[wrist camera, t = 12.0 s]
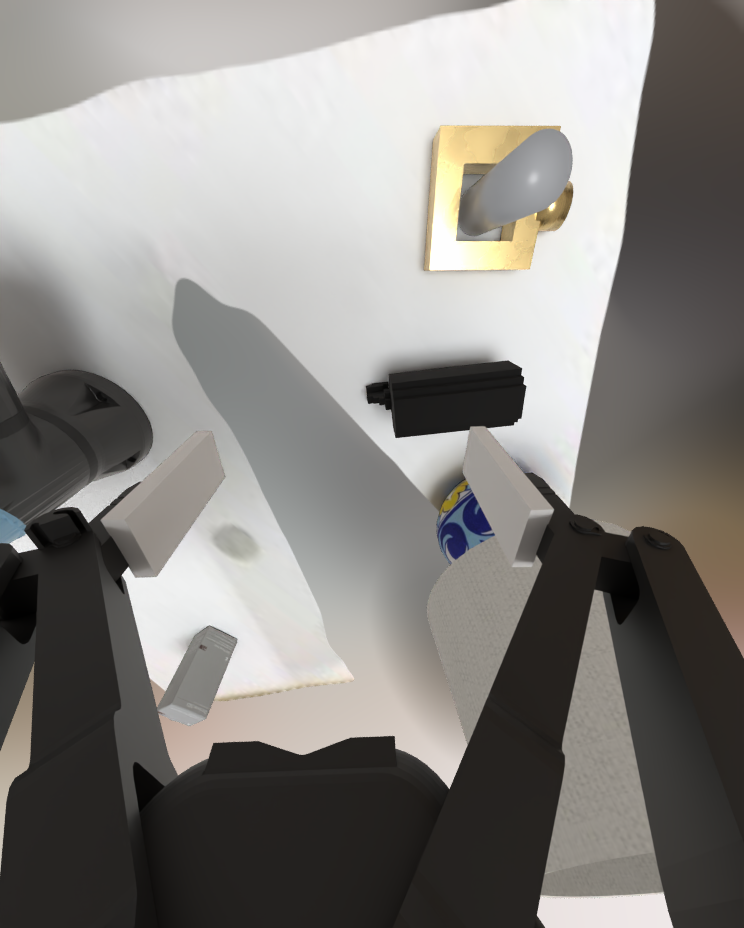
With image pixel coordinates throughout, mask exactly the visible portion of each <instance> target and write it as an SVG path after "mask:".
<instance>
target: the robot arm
mask: <svg viewBox="0 0 744 928" xmlns="http://www.w3.org/2000/svg"><path fill="white" fill-rule="evenodd" d="M151 445H152V430H151V426H150V423H149V421H148V419H147V417H146V415H145V413H144V412H143V410H142V409H141V407H140V406H139V405H138V404H137V402H136V401H135V400H134V399H133V398H132V397H131V396H130V395H129V394H128V393H126V392H125V391H124V390H123V389H121V388H120V387H118V386H117V385H115V384H114V383H112V382H110V381H109V380H107V379H105V378H102V377H100V376H98V375H95V374H92V373H88V372H84V371H77V370H64V371H59V372H55V373H52V374H49V375H45V376H42V377H40V378H38V379H36V380H34V381H33V382H31V383H30V384H29V385H28V386H27V387H26V388H25V389H24V390H23V391H22V392H20V393H19V394H18V395H17V394H16V392H15V390H14V388H13V386H12V384H11V382H10V380H9V378H8V376H7V374H6V372H5V370H4V368H3V366H2V364H1V362H0V750H1V748H2V745H3V742H4V739H5V737H6V734H7V732H8V729H9V727H10V724H11V721H12V719H13V716H14V714H15V711H16V708H17V706H18V703H19V701H20V698H21V695H22V692H23V690H24V687H25V685H26V682H27V680H28V677H29V674H30V672H31V669H32V666H33V664H34V661H35V664H34V688H33V711H32V732H31V756H30V764H29V768H28V769H27V771H25V772H24V773H22V774H21V775H19V776H17V777H16V778H15V779H14V781H13V782H12V784H11V786H10V788H9V792H8V797H7V802H6V814H5V825H4V838H3V849H2V861H1V872H0V928H545V927H544V925H543V924H542V923H541V921H540V920H539V918H538V917H537V911H538V905H539V900H540V895H541V890H542V885H543V880H544V874H545V869H546V864H547V859H548V854H549V849H550V843H551V838H552V833H553V828H554V823H555V818H556V812H557V807H558V802H559V797H560V792H561V786H562V781H563V775H564V769H565V755H564V753H563V751H562V743H563V737H564V732H565V728H566V723H567V718H568V713H569V708H570V704H571V699H572V694H573V689H574V685H575V680H576V675H577V670H578V666H579V661H580V656H581V651H582V647H583V642H584V637H585V632H586V627H587V623H588V618H589V613H590V608H591V604H592V599H593V594H594V590H598V591H602V592H603V597H604V602H605V607H606V612H607V617H608V622H609V627H610V632H611V637H612V642H613V647H614V652H615V657H616V662H617V667H618V672H619V677H620V682H621V687H622V692H623V697H624V702H625V707H626V712H627V716H628V721H629V726H630V731H631V736H632V741H633V746H634V751H635V756H636V761H637V766H638V771H639V776H640V781H641V786H642V791H643V796H644V801H645V806H646V811H647V816H648V821H649V826H650V831H651V836H652V841H653V846H654V851H655V856H656V861H657V866H658V870H659V875H660V879H661V883H662V887H663V891H664V895H665V899H666V903H667V907H668V912H669V915H670V918H671V921H672V925H673V928H744V658H743V656H742V655H741V652H740V651H739V649H738V647H737V645H736V643H735V641H734V639H733V638H732V636H731V634H730V632H729V630H728V628H727V626H726V624H725V623H724V621H723V619H722V617H721V615H720V613H719V611H718V610H717V608H716V606H715V604H714V602H713V600H712V598H711V597H710V595H709V593H708V591H707V589H706V587H705V586H704V584H703V582H702V580H701V578H700V576H699V574H698V573H697V571H696V569H695V567H694V565H693V563H692V561H691V559H690V558H689V556H688V554H687V552H686V550H685V548H684V547H683V545H682V544H681V543H680V542H679V541H678V540H677V539H675V538H674V537H672V536H671V535H669V534H668V533H665V532H664V531H661V530H658V529H654V528H650V527H644V526H642V527H636V528H634V529H633V530H632V532H631V533H630V535H629V537H628V536H623V535H618V534H612V533H607V532H605V530H604V529H603V528H602V527H601V525H599V524H598V523H597V522H595V521H594V520H592V519H589V518H587V517H585V516H581V515H575V514H574V513H573V512H572V511H571V510H570V509H569V508H568V507H567V505H566V504H565V503H564V502H563V501H562V500H561V499H560V498H559V497H558V495H555V492H554V491H553V490H552V489H550V487H549V486H548V484H547V483H546V482H545V481H544V480H543V479H542V478H540V477H538V476H537V475H535V474H533V473H523V472H522V470H521V469H520V468H519V467H518V466H517V464H516V463H515V462H514V461H513V459H512V458H511V457H510V456H509V455H508V453H507V452H506V451H505V450H504V449H503V447H502V446H501V445H500V444H499V443H498V441H497V440H496V439H495V438H494V437H493V435H492V434H491V433H490V432H489V431H488V429H487V428H486V427H485V426H478V427H470V431H469V436H468V442H467V448H466V454H465V459H464V465H463V471H462V472H463V474H464V476H465V478H466V480H467V482H468V484H469V486H470V488H471V490H472V492H473V493H474V495H475V497H476V499H477V501H478V503H479V505H480V507H481V509H482V511H483V513H484V515H485V517H486V518H487V520H488V522H489V524H490V526H491V528H492V530H493V532H494V534H495V536H496V538H497V540H498V542H499V544H500V545H501V547H502V549H503V551H504V553H505V555H506V557H507V559H508V561H509V563H510V565H511V567H532V566H533V563H534V560H535V558H536V555H537V557H538V558H539V560H540V561H541V563H542V566H541V568H540V570H539V573H538V575H537V578H536V580H535V583H534V585H533V588H532V590H531V592H530V595H529V597H528V600H527V602H526V605H525V607H524V609H523V612H522V614H521V617H520V619H519V622H518V624H517V627H516V629H515V631H514V634H513V636H512V639H511V641H510V644H509V646H508V648H507V651H506V653H505V656H504V658H503V661H502V663H501V666H500V668H499V670H498V673H497V675H496V678H495V680H494V683H493V685H492V687H491V690H490V692H489V695H488V697H487V700H486V702H485V704H484V707H483V709H482V712H481V714H480V717H479V719H478V721H477V724H476V726H475V729H474V731H473V734H472V736H471V738H470V741H469V743H468V746H467V748H466V751H465V753H464V756H463V758H462V760H461V763H460V765H459V768H458V771H457V773H456V775H455V777H454V780H453V783H452V785H451V787H450V789H449V788H448V787H447V785H446V784H445V783H444V782H443V781H442V780H441V779H440V777H439V776H438V775H437V774H436V773H435V772H434V771H432V769H430V768H429V767H428V766H427V765H426V764H425V763H423V762H422V761H420V760H419V759H417V758H416V757H414V756H412V755H410V754H408V753H406V752H404V751H401V750H398V749H395V737H394V736H384V737H357V738H349V739H346V740H343V741H341V742H338V743H335V744H333V745H330V746H328V747H325V748H322V749H320V750H317V751H314V752H312V753H309V754H306V755H299V754H295V753H292V752H289V751H286V750H283V749H280V748H277V747H274V746H271V745H268V744H265V743H262V742H259V741H253V742H227V743H213V746H212V749H211V753H210V756H209V759H206V760H204V761H202V762H200V763H198V764H196V765H194V766H192V767H190V768H189V769H187V770H186V771H184V772H183V773H181V774H180V775H177V773H176V771H175V768H174V767H173V764H172V762H171V760H170V758H169V755H168V752H167V748H166V744H165V740H164V736H163V732H162V727H161V723H160V719H159V715H158V711H157V707H156V703H155V699H154V695H153V691H152V687H151V683H150V679H149V675H148V671H147V667H146V663H145V658H144V654H143V650H142V646H141V642H140V638H139V634H138V630H137V626H136V622H135V618H134V614H133V610H132V606H131V602H130V598H129V594H128V590H127V586H126V582H125V580H124V579H123V577H122V574H123V573H124V571H125V570H126V569H127V568H128V566H129V568H130V570H131V571H132V573H133V575H134V576H135V578H137V577H157V576H158V574H159V573H160V571H161V570H162V568H163V567H164V565H165V564H166V563H167V561H168V560H169V558H170V557H171V555H172V554H173V552H174V551H175V549H176V548H177V547H178V545H179V544H180V542H181V541H182V539H183V538H184V536H185V535H186V533H187V532H188V531H189V529H190V528H191V526H192V525H193V523H194V522H195V520H196V519H197V517H198V516H199V515H200V513H201V512H202V510H203V509H204V507H205V506H206V504H207V503H208V501H209V500H210V499H211V497H212V496H213V494H214V493H215V491H216V490H217V488H218V487H219V486H220V484H221V483H222V481H223V480H224V478H225V473H224V470H223V467H222V464H221V460H220V457H219V454H218V450H217V447H216V444H215V440H214V437H213V434H212V431H196V432H195V433H194V434H193V435H192V436H191V437H190V438H189V439H188V440H186V441H185V442H184V443H183V444H182V445H181V446H180V447H179V448H178V449H177V450H176V451H175V452H174V453H172V454H171V455H170V456H169V457H168V458H167V459H166V460H165V461H164V462H163V463H162V464H161V465H159V466H158V467H157V468H156V469H155V470H154V471H153V472H152V473H151V474H150V475H149V476H148V477H146V478H145V479H144V480H143V481H142V482H138V483H137V484H135V485H133V486H131V487H129V488H128V489H126V490H125V491H124V492H123V493H122V494H121V495H120V496H118V499H115V500H114V501H113V502H112V503H111V504H110V506H107V507H106V508H105V509H104V510H103V511H102V512H101V513H99V514H98V515H97V516H96V517H95V518H94V519H93V520H92V521H91V522H89V523H88V522H87V521H86V519H85V518H84V516H83V514H82V513H81V511H80V510H79V509H78V508H74V507H67V508H61V509H57V508H58V507H59V506H61V505H62V504H63V503H64V502H66V501H67V500H68V499H70V498H71V497H72V496H74V495H75V494H76V493H77V492H79V491H80V490H81V489H83V488H84V487H85V486H87V485H88V484H89V483H91V482H92V481H95V480H98V479H101V478H104V477H108V476H111V475H114V474H117V473H120V472H123V471H126V470H128V469H130V468H132V467H133V466H135V465H136V464H137V463H138V462H140V461H141V460H142V459H143V458H144V457H145V456H146V455H147V454H148V452H149V451H150V448H151ZM55 509H57V510H55ZM25 534H27V535H28V536H29V538H30V539H31V540H32V541H33V543H34V544H35V545H36V546H37V548H38V549H36V550H31V551H27V552H22V553H18V552H17V551H16V550H15V549H14V548H13V546H11V545H10V544H9V543H11V542H12V541H14V540H16V539H18V538H20V537H22V536H24V535H25Z"/></svg>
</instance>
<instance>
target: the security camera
mask: <svg viewBox="0 0 744 928" xmlns="http://www.w3.org/2000/svg"><path fill="white" fill-rule="evenodd" d="M521 372H522V368H520V367H519V366H517V365H515V364H513V363H512V362H510V361H500V362H491V363H482V364H474V365H465V366H456V367H448V368H439V369H430V370H421V371H413V372H404V373H395V374H389V387H388V382H382V383H374V384H372V385H371V386H366V390H367V401H368V404H370V403H374V404H375V403H379V404H380V405H385V408H386V410H390V409H391V412H392V420H393V428H394V432H395V437H396V438H400V437H410V436H419V435H428V434H437V433H446V432H456V431H465V430H470V427H478V426H485V427H486V428H493V427H502V426H511V425H514V422H518V419H521V417H522V410H523V404H524V397H525V391H526V386H525V385H524V384H523V382H524V377H523V376H521ZM389 388H390V389H389Z"/></svg>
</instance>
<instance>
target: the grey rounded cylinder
mask: <svg viewBox="0 0 744 928" xmlns="http://www.w3.org/2000/svg"><path fill="white" fill-rule="evenodd" d="M571 170H572V150H571V146H570V143H569V141H568V139H567V138H566V137H565V135H564V134H563V133H561V132H560V131H558V130H555V129H542V130H539V131H537V132H535V133H534V134H532V135H531V136H529V137H528V138H527V139H526V140H525V141H523V142H522V143H521V144H520V145H519V146H518V147H517V148H515V149H514V150H513V151H512V152H511V153H510V154H508V155H507V156H506V157H505V158H504V159H503V160H502V161H500V162H499V163H498V164H497V165H496V166H495V167H493V168H492V169H491V170H490V171H489V172H488V173H487V174H485V175H484V176H483V177H482V178H481V179H480V180H478V181H477V182H476V183H475V184H474V185H473V186H472V187H470V188H469V189H468V190H467V191H466V192H465V193H464V194H463V196H462V198H461V199H460V205H459V214H458V224H459V227H460V228H461V230H462V231H463V232H464V233H465V234H467V235H470V236H477V235H481V234H483V233H486V232H488V231H491V230H493V229H496V228H498V227H501V226H504V225H506V224H509V223H511V222H514V221H516V220H519V219H522V218H524V217H527V216H529V215H532V214H534V213H537V212H539V211H542V210H544V209H546V208H548V207H549V206H550V205H552V204H553V203H554V202H555V201H556V200H557V199H558V198H559V196H560V195H561V194H562V192H563V191H564V189H565V187H566V185H567V183H568V180H569V178H570V174H571Z"/></svg>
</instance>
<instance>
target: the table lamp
mask: <svg viewBox="0 0 744 928" xmlns="http://www.w3.org/2000/svg"><path fill="white" fill-rule="evenodd" d="M592 520H593V519H592ZM594 521H595V522H597V523H598V524H599V525H601V527H602V528H603V529H604V530H605V532H607V533H612V534H618V535H623V536H628V537H629V535H630V533H631V532H630V531H627V530H626V529H623V528H621V527H619V526H617V525H615V524H611V523H606V522H602V521H598V520H594ZM436 525H437V537H438V541H439V545H440V549H441V551H442V553H443V554H444V556H445V558H446V559H447V561H448V562H449V563H450V566H449V567H448V568H447V569H446V570H445V571H444V572H443V573H442V574H441V576H440V577H439V578H438V580H437V582H436V583H435V585H434V587H433V588H432V590H431V593H430V596H429V599H428V603H427V618H428V620H429V624H430V627H431V630H432V634H433V637H434V640H435V643H436V646H437V649H438V652H439V656H440V659H441V662H442V665H443V668H444V672H445V675H446V678H447V681H448V684H449V687H450V691H451V694H452V697H453V700H454V703H455V706H456V709H457V713H458V716H459V719H460V722H461V725H462V729H463V732H464V735H465V738H466V741H467V744H468V743H469V741H470V738H471V736H472V734H473V731H474V729H475V726H476V724H477V721H478V719H479V717H480V714H481V712H482V709H483V707H484V704H485V702H486V700H487V697H488V695H489V692H490V690H491V687H492V685H493V683H494V680H495V678H496V675H497V673H498V670H499V668H500V666H501V663H502V661H503V658H504V656H505V653H506V651H507V648H508V646H509V644H510V641H511V639H512V636H513V634H514V631H515V629H516V627H517V624H518V622H519V619H520V617H521V614H522V612H523V609H524V607H525V605H526V602H527V600H528V597H529V595H530V592H531V590H532V588H533V585H534V583H535V580H536V578H537V575H538V573H539V570H540V568H541V566H542V563H541V561H540V560H539V558H538V557H537V555H536V558H535V560H534V563H533V566H532V567H511V565H510V563H509V561H508V559H507V557H506V555H505V553H504V551H503V549H502V547H501V545H500V544H499V542H498V540H497V538H496V536H495V534H494V532H493V530H492V528H491V526H490V524H489V522H488V520H487V518H486V517H485V515H484V513H483V511H482V509H481V507H480V505H479V503H478V501H477V499H476V497H475V495H474V493H473V492H472V490H471V488H470V486H469V484H468V482H467V480H466V479H465V480H464V481H462V482H460V483H459V484H458V485H457V486H456V487H455V488H454V489H453V490H452V491H451V493H450V494H449V495H448V496H447V498H446V499H445V501H444V503H443V505H442V507H441V510H440V513H439V516H438V520H437V524H436ZM562 751H563V753H564V755H565V769H564V775H563V781H562V786H561V792H560V797H559V802H558V807H557V812H556V818H555V823H554V828H553V833H552V838H551V843H550V849H549V854H548V859H547V864H546V869H545V874H544V880H543V885H542V890H541V895H540V897H547V898H602V897H623V896H640V895H652V894H664V891H663V887H662V883H661V879H660V875H659V870H658V866H657V861H656V856H655V851H654V846H653V841H652V836H651V831H650V826H649V821H648V816H647V811H646V806H645V801H644V796H643V791H642V786H641V781H640V776H639V771H638V766H637V761H636V756H635V751H634V746H633V741H632V736H631V731H630V726H629V721H628V716H627V712H626V707H625V702H624V697H623V692H622V687H621V682H620V677H619V672H618V667H617V662H616V657H615V652H614V647H613V642H612V637H611V632H610V627H609V622H608V617H607V612H606V607H605V602H604V597H603V592H602V591H598V590H594V594H593V599H592V604H591V608H590V613H589V618H588V623H587V627H586V632H585V637H584V642H583V647H582V651H581V656H580V661H579V666H578V670H577V675H576V680H575V685H574V689H573V694H572V699H571V704H570V708H569V713H568V718H567V723H566V728H565V732H564V737H563V743H562Z"/></svg>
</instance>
